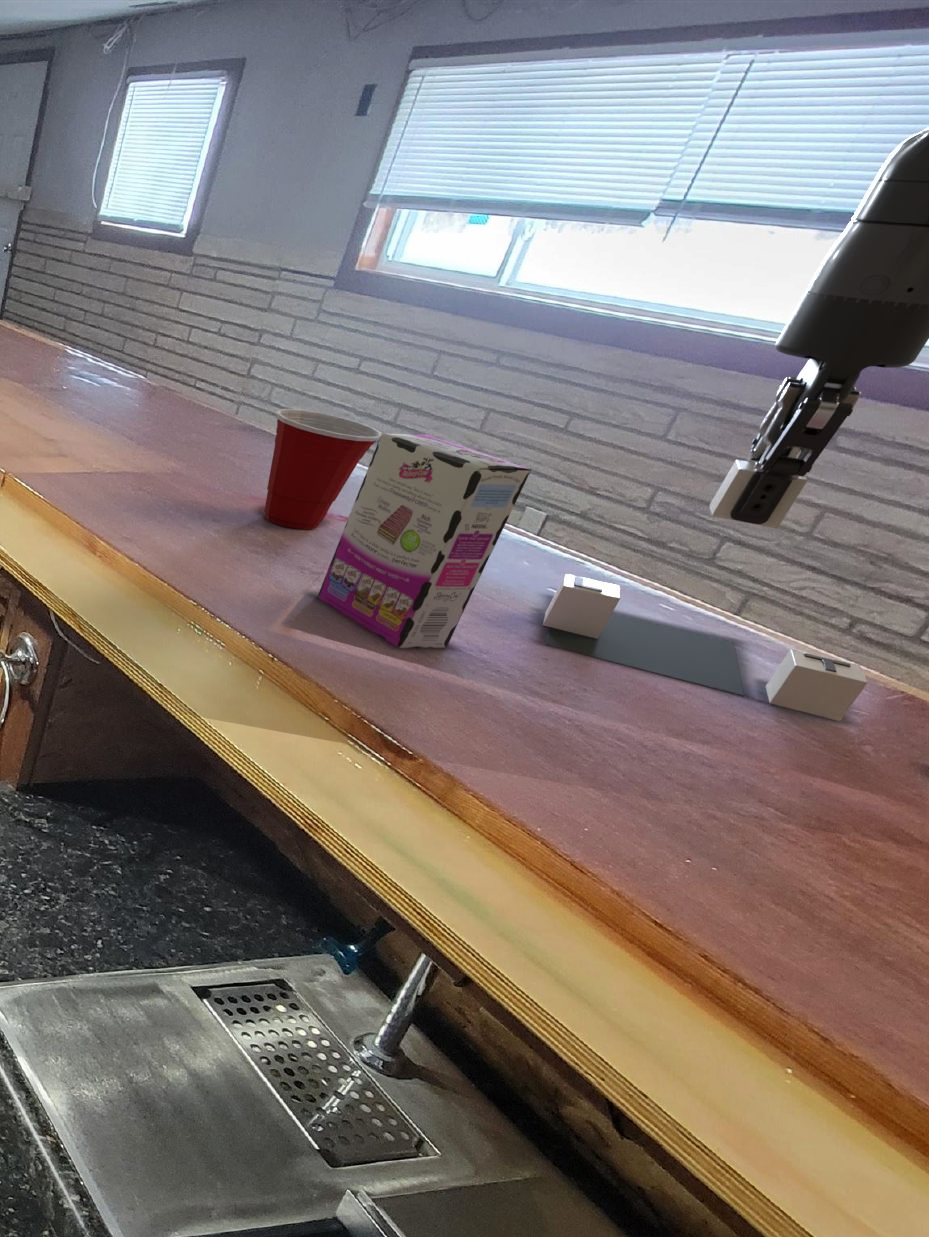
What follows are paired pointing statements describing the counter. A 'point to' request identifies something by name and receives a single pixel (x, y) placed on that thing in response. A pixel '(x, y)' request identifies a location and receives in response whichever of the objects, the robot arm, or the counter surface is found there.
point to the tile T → (816, 684)
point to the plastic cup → (312, 465)
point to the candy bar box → (420, 537)
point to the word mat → (659, 651)
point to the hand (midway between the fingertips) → (744, 513)
